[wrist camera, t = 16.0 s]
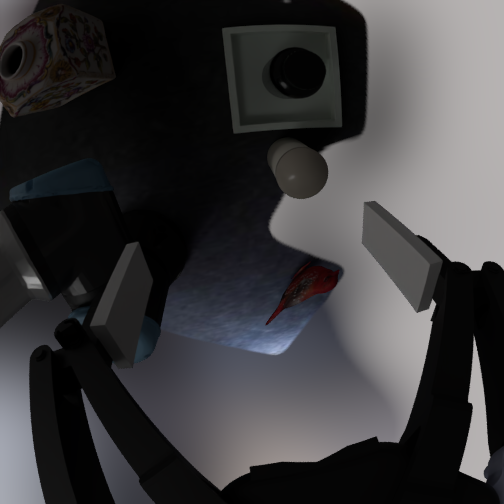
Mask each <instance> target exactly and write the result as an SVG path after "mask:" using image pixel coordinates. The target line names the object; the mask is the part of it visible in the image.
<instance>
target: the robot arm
mask: <svg viewBox="0 0 504 504" xmlns="http://www.w3.org/2000/svg"><path fill="white" fill-rule="evenodd" d="M113 190H114V188H113V187H112V186H111V185H110V183H109V181H108V179H107V176H106V174H105V172H104V169H103V167H102V165H101V164H100V163H99V162H98V161H97V160H95V159H92V158H86V159H83V160H80V161H77V162H74V163H71V164H68V165H66V166H63V167H60V168H58V169H55V170H53V171H50V172H48V173H45V174H43V175H41V176H38V177H36V178H34V179H31V180H29V181H27V182H25V183H22V184H20V185H18V186H16V187H14V188H12V189H11V190H10V201H12V204H10V205H9V206H7V207H6V208H4V209H3V210H2V211H0V328H1V327H2V326H3V325H4V324H5V323H6V322H7V321H8V320H9V319H11V318H12V317H13V316H14V315H15V314H16V313H17V312H18V311H19V310H20V309H22V308H23V307H24V306H25V305H26V304H27V303H28V302H29V301H31V300H33V299H40V300H45V301H52V300H53V299H54V298H55V297H56V296H58V295H59V294H60V293H61V294H62V295H63V297H64V298H65V300H66V302H67V303H68V305H69V306H70V307H71V309H72V312H71V313H70V315H69V317H68V319H66V320H64V321H62V322H61V323H60V324H59V325H58V326H57V327H56V329H55V332H54V336H55V338H56V339H57V341H58V342H59V343H60V345H61V346H62V347H63V348H62V349H59V350H56V351H52V349H51V348H50V347H49V346H48V345H42V346H39V347H38V348H36V349H35V350H34V351H33V353H32V355H31V357H30V371H29V372H30V373H29V385H30V386H29V387H30V412H31V424H32V434H33V442H34V450H35V457H36V463H37V468H38V473H39V478H40V483H41V487H42V491H43V496H44V499H45V503H46V504H115V502H114V499H113V497H112V495H111V492H110V490H109V487H108V484H107V482H106V479H105V476H104V473H103V471H102V468H101V465H100V462H99V459H98V456H97V452H96V449H95V446H94V443H93V439H92V436H91V432H90V428H89V424H88V420H87V416H86V412H85V407H84V403H83V399H82V393H81V389H82V388H83V390H84V392H85V394H86V396H87V398H88V400H89V401H90V403H91V405H92V407H93V409H94V411H95V412H96V414H97V416H98V417H99V419H100V420H101V422H102V424H103V426H104V427H105V429H106V430H107V432H108V434H109V435H110V437H111V438H112V440H113V441H114V443H115V444H116V446H117V447H118V449H119V450H120V451H121V453H122V455H123V456H124V457H125V459H126V460H127V462H128V463H129V464H130V466H131V467H132V468H133V470H134V471H135V472H136V474H137V475H138V476H139V478H140V479H139V483H140V485H141V486H142V488H143V489H144V490H145V492H146V493H147V494H148V495H149V497H150V498H151V499H152V500H153V501H154V502H155V504H504V270H503V269H502V267H501V266H500V265H498V264H497V263H495V262H491V261H488V262H484V263H483V266H482V269H481V270H478V271H471V269H470V268H469V267H468V266H467V265H466V264H464V263H461V262H451V261H450V260H449V259H448V258H447V257H446V256H445V255H444V254H442V252H441V251H440V250H437V248H436V247H435V246H434V245H432V243H431V242H430V241H428V240H427V239H426V238H424V237H422V236H420V235H415V234H414V233H412V232H411V231H410V230H409V229H408V228H407V227H406V226H404V225H403V224H402V223H401V222H400V221H399V220H397V219H396V218H395V217H394V216H392V214H390V213H389V212H388V211H387V210H385V209H384V208H383V207H382V206H381V205H379V204H378V203H377V202H375V201H371V202H364V217H363V218H364V219H363V236H362V244H363V245H364V246H365V247H366V248H367V250H368V251H369V252H370V253H371V254H372V255H373V257H374V258H375V259H376V261H377V262H378V263H379V264H380V265H381V266H382V268H383V269H384V270H385V272H386V273H387V274H388V275H389V277H390V278H391V279H392V280H393V282H394V283H395V284H396V286H397V287H398V288H399V290H400V291H401V292H402V293H403V295H404V296H405V297H406V299H407V300H408V301H409V303H410V304H411V306H412V307H413V308H414V310H415V311H416V312H417V313H418V312H421V311H423V310H427V309H429V306H430V304H431V301H432V299H433V300H434V301H435V303H436V306H435V310H434V312H433V315H432V318H431V321H433V323H432V329H431V334H430V340H429V345H428V350H427V355H426V359H425V364H424V368H423V372H422V376H421V380H420V384H419V388H418V391H417V395H416V398H415V402H414V405H413V408H412V412H411V415H410V418H409V421H408V424H407V426H406V429H405V431H404V433H403V435H402V437H401V439H400V441H399V443H393V442H378V439H377V437H373V438H370V439H367V440H365V441H362V442H359V443H355V444H352V445H349V446H346V447H345V448H343V449H341V450H339V451H338V452H336V453H334V454H332V455H330V456H328V457H326V458H324V459H322V460H320V461H318V462H278V463H272V464H265V465H259V466H251V467H250V473H248V474H245V475H243V476H241V477H239V478H237V479H235V480H234V481H232V482H231V483H229V484H228V485H227V486H226V487H225V488H224V489H223V490H222V491H220V490H219V489H218V488H217V487H216V486H215V485H213V484H212V483H211V482H210V481H208V480H207V479H206V478H205V477H204V476H203V475H202V474H201V473H200V472H199V471H197V470H196V469H195V468H194V467H193V466H192V465H191V464H190V463H189V462H188V461H187V460H186V459H185V458H184V457H183V456H182V455H181V453H180V452H179V451H178V450H177V449H176V448H175V447H174V446H173V445H172V444H171V443H170V442H169V441H168V440H167V438H166V437H165V436H164V435H163V434H162V433H161V432H160V431H159V429H158V428H157V427H156V426H155V425H154V424H153V422H152V421H151V420H150V419H149V418H148V416H147V415H146V414H145V413H144V412H143V410H142V409H141V408H140V407H139V405H138V404H137V403H136V401H135V400H134V399H133V397H132V396H131V395H130V393H129V392H128V391H127V389H126V388H125V387H124V385H123V384H122V383H121V381H120V380H119V378H118V377H117V376H116V374H115V373H114V371H113V370H112V369H111V365H112V363H115V365H116V366H117V367H118V368H133V364H134V363H138V362H141V361H143V360H145V359H147V358H148V357H149V356H150V355H151V354H152V353H153V351H154V349H155V346H156V343H157V340H158V337H159V336H160V333H161V330H160V329H161V328H160V327H161V322H162V317H163V312H164V308H165V303H166V298H167V294H168V289H169V287H170V285H171V284H172V283H173V282H174V281H175V280H176V279H177V278H178V277H179V276H180V274H181V272H182V270H183V268H184V265H185V261H186V256H187V246H186V242H185V239H184V236H183V234H182V232H181V231H180V229H179V228H178V227H177V226H176V225H175V224H174V223H173V222H172V221H171V220H170V219H168V218H167V217H165V216H164V215H162V214H159V213H157V212H153V211H149V210H135V211H131V212H128V213H126V214H124V215H122V212H121V210H120V207H119V205H118V202H117V200H116V197H115V195H114V192H113ZM474 337H475V341H476V346H477V351H478V356H479V361H480V367H481V373H482V380H483V387H484V395H485V405H486V415H487V416H486V417H487V434H488V445H489V451H490V457H491V458H490V460H489V462H488V466H487V467H486V468H485V470H484V477H485V478H486V479H487V481H486V483H485V482H483V481H480V480H478V479H475V478H473V477H471V476H469V475H466V474H464V473H462V472H460V471H459V469H460V465H461V462H462V458H463V454H464V450H465V446H466V442H467V437H468V433H469V428H470V423H471V417H472V409H473V406H472V403H468V395H469V388H470V387H469V386H470V379H471V370H472V358H473V341H474Z"/></svg>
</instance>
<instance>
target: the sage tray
mask: <svg viewBox="0 0 504 504" xmlns="http://www.w3.org/2000/svg"><path fill="white" fill-rule="evenodd" d="M222 32H223V42H224V51H225V60H226V69H227V78H228V88H229V97H230V106H231V114H232V123H233V132H234V134H235V133H244V132H254V131H265V130H278V129H294V128H318V127H342V109H341V87H340V72H339V59H338V48H337V38H336V29H335V27H328V26H313V25H256V26H240V27H229V28H222ZM290 47H300V48H304V49H307V50H309V51H311V52H313V53H316V54H317V55H318V56H319V57H320V58H321V59H322V60H323V62H324V65H325V66H326V75H325V79H324V82H323V85H322V86H321V88H320V89H319V90H318V91H317V92H316V93H315V94H314V95H312V96H310V97H307V98H302V99H282V98H278V97H276V96H274V95H272V94H271V93H269V92H268V91H267V89H266V88H265V86H264V84H263V82H262V71H263V68H264V66H265V65H266V63H267V62H268V61H269V60H270V59H271V58H273V57H274V56H275V55H276V54H277V53H278V52H280V51H281V50H284V49H286V48H290Z"/></svg>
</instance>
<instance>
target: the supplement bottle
mask: <svg viewBox="0 0 504 504" xmlns="http://www.w3.org/2000/svg"><path fill="white" fill-rule="evenodd" d="M325 75H326V66H325V65H324V62H323V60H322V59H321V58H320V57H319V56H318V55H317V54H316V53H313V52H311V51H309V50H307V49H304V48H300V47H290V48H286V49H284V50H281V51H280V52H278V53H277V54H276V55H275V56H274V57H273V58H271V59H270V60H269V61H268V62H267V63H266V65H265V66H264V68H263V71H262V82H263V84H264V86H265V88H266V89H267V91H268V92H269V93H271V94H272V95H274V96H276V97H278V98H282V99H302V98H307V97H310V96H312V95H314V94H315V93H316V92H317V91H318V90H319V89H320V88H321V86H322V85H323V82H324V79H325Z"/></svg>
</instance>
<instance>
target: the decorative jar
mask: <svg viewBox="0 0 504 504" xmlns="http://www.w3.org/2000/svg"><path fill="white" fill-rule="evenodd" d="M114 78H116V75H115V71H114V67H113V62H112V58H111V54H110V50H109V47H108V43H107V39H106V35H105V30H104V25H103V22H102V21H101V20H100V19H98V18H96V17H94V16H92V15H90V14H87V13H85V12H82V11H80V10H78V9H75V8H73V7H70V6H67V5H64V4H58V5H56V6H52V7H48V8H46V9H44V10H42V11H39V12H36V13H34V14H32V15H30V16H28V17H27V18H25V19H24V20H23V21H21V22H20V23H19V24H17V25H16V26H14V27H13V28H12V29H11V30H10V31H9V32H8V33H7V34H6V36H5V38H4V40H3V42H2V44H1V46H0V101H1V102H2V104H3V106H4V107H5V108H6V109H7V111H8V112H9V113H10V115H11V116H12V117H17V116H21V115H25V114H30V113H34V112H39V111H44V110H48V109H53V108H57V107H60V106H62V105H64V104H66V103H67V102H69V101H71V100H73V99H74V98H76V97H78V96H80V95H82V94H84V93H86V92H88V91H90V90H92V89H94V88H96V87H98V86H100V85H102V84H104V83H106V82H108V81H111V80H113V79H114Z"/></svg>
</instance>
